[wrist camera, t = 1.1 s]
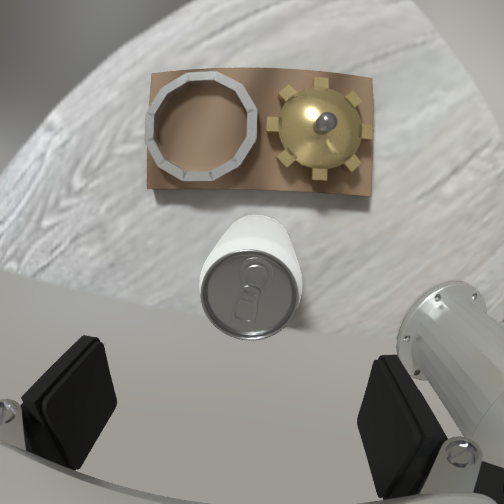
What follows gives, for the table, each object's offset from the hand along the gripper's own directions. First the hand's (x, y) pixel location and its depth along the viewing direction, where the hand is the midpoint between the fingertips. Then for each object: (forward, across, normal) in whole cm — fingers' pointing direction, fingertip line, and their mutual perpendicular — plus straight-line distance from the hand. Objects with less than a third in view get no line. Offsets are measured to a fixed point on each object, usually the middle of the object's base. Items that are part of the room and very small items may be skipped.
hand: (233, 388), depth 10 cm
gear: (+19, -5, -11) cm, 22 cm away
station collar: (+19, +5, -11) cm, 22 cm away
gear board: (+20, 0, -11) cm, 23 cm away
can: (+20, 0, 0) cm, 21 cm away
